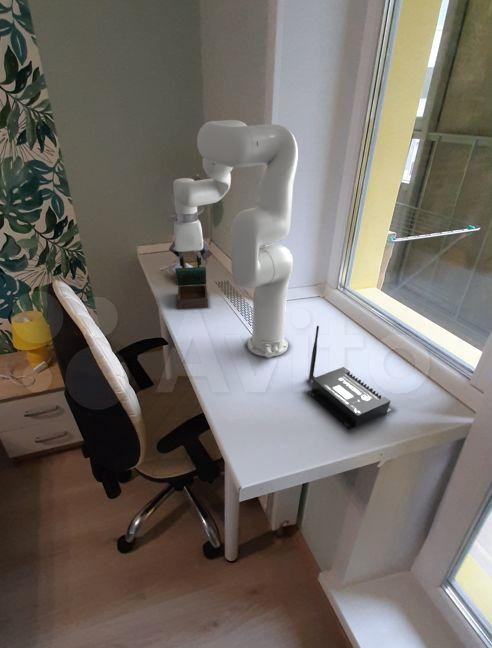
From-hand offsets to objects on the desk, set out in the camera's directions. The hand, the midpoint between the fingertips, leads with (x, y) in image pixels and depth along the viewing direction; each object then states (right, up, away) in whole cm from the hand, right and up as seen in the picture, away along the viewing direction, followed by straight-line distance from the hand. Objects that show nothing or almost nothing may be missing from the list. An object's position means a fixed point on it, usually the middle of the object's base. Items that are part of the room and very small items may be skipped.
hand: (190, 266), depth 142 cm
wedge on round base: (-3, -1, +23) cm, 23 cm away
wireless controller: (+43, -44, -44) cm, 75 cm away
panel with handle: (0, -4, +1) cm, 4 cm away
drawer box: (0, -12, +5) cm, 13 cm away
